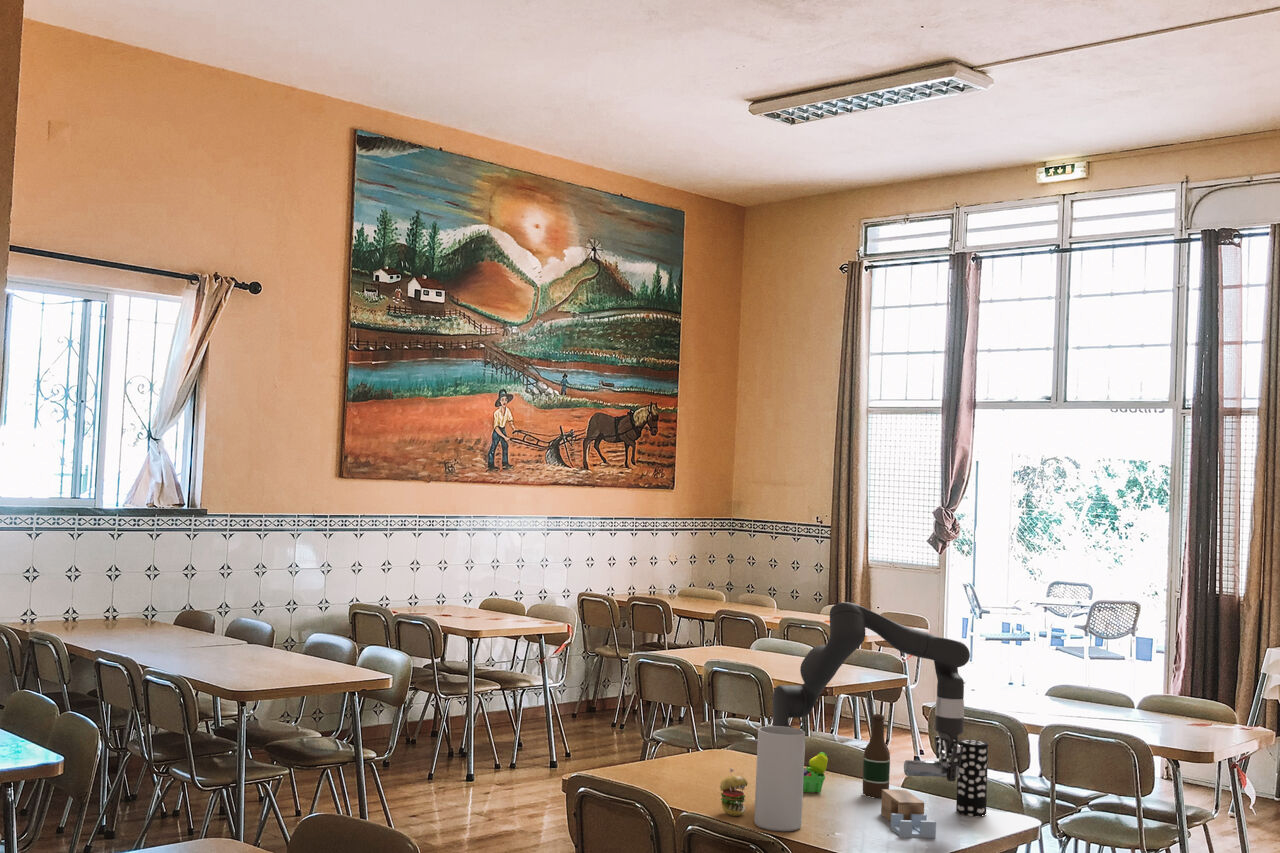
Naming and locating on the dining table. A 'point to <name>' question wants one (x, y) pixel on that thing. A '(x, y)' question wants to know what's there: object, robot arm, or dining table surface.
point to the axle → (927, 768)
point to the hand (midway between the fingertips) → (947, 778)
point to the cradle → (913, 826)
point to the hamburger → (733, 795)
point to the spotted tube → (972, 778)
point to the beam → (900, 804)
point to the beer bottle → (876, 761)
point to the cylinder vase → (779, 778)
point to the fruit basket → (815, 773)
